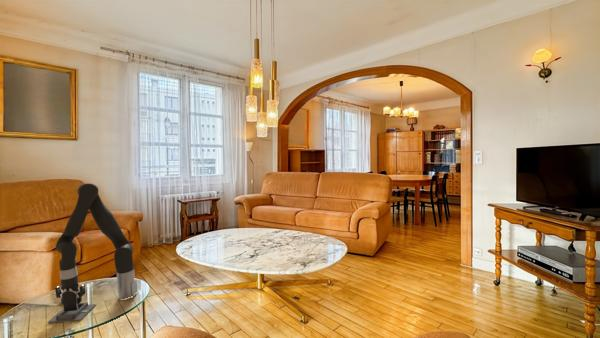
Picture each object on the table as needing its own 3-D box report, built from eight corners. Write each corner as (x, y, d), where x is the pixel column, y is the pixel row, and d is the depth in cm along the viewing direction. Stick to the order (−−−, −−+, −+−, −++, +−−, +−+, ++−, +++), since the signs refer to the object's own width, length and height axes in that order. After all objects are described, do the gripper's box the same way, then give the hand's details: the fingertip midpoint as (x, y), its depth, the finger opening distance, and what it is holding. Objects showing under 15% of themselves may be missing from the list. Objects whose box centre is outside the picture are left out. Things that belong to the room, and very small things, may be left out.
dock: (95, 305, 166) (95, 300, 166) (80, 321, 152) (80, 315, 152) (66, 307, 164) (65, 302, 164) (47, 323, 150) (47, 318, 150)
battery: (81, 306, 160) (79, 287, 159) (76, 310, 157) (75, 291, 155) (67, 307, 160) (65, 288, 158) (63, 311, 156) (61, 292, 154)
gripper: (87, 271, 160) (89, 298, 162) (59, 272, 159) (62, 300, 161) (78, 278, 153) (81, 306, 155) (49, 279, 151) (52, 308, 153)
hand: (71, 303), depth 158 cm, fingers closed on battery, 7 cm apart
